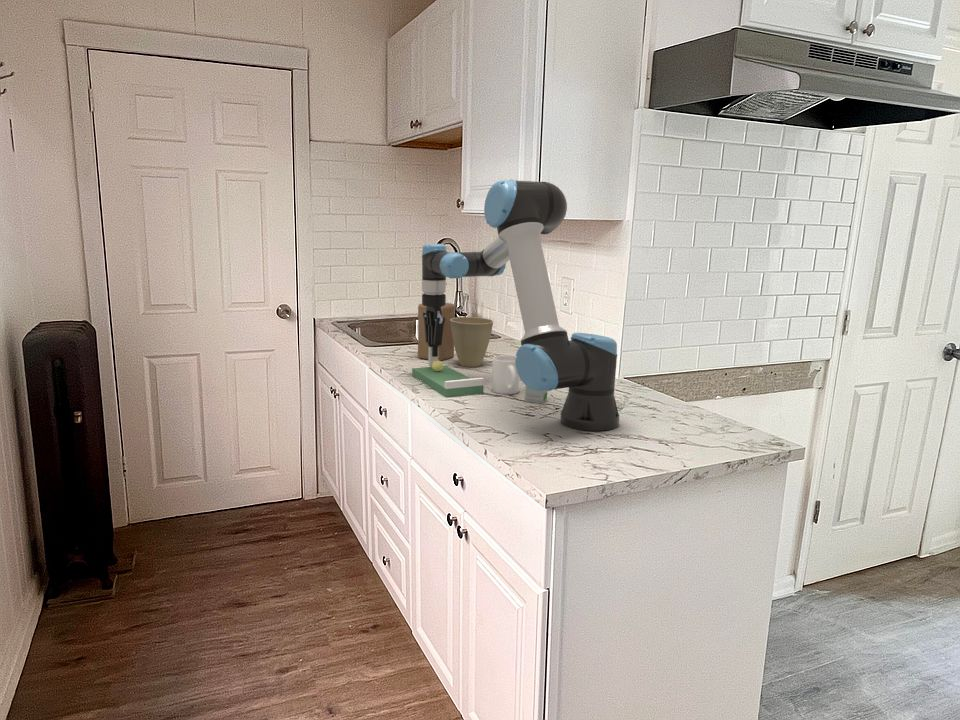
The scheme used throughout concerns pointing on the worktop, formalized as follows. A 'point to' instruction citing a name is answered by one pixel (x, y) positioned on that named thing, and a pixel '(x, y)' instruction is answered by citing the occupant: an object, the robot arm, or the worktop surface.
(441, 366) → the ball
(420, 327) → the wooden block
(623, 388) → the worktop surface
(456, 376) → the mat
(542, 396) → the small box
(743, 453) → the worktop surface
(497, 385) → the mug
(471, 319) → the plant pot
